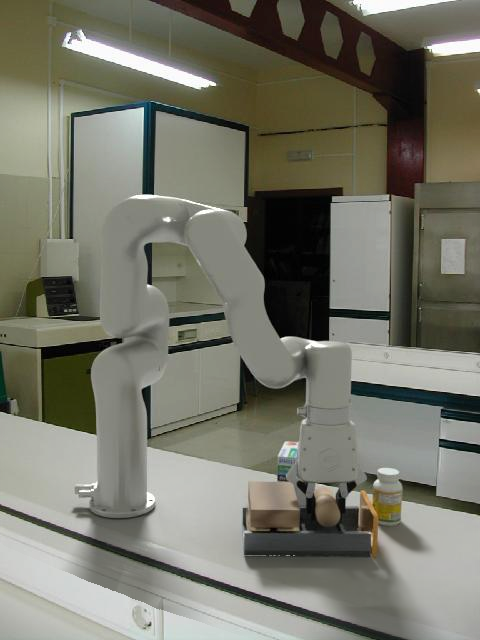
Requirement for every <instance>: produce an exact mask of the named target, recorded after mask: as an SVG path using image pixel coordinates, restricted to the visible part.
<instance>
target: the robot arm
mask: <svg viewBox="0 0 480 640" xmlns="http://www.w3.org/2000/svg"><path fill="white" fill-rule="evenodd" d="M247 234H248V233H247V228H246V224H245V223H244V221H243V219H242V218H241V217H240V216H238V215H237V214H236V213H234V212H233V211H230V210H226V209H221V208H217V207H212V206H210V205H206V204H201V203H198V202H195V201H194V202H193V201H190V200H187V199H182V198H177V197H171V196H162V195H156V194H155V195H153V194H139V195H133V196H130V197H128V198H125V199H123V200H121V201H119V202H118V203H116V204H115V205H114V206H112V208H111V209H110V210H109V211H108V212H107V214H106V215H105V217H104V220H103V223H102V226H101V231H100V252H101V255H100V256H101V270H100V293H99V295H100V296H99V297H100V298H99V318H100V319H99V321H100V325H101V327H102V330H103V331H104V332H105V333H106V334H107V335H108V336H110V337H112V338H117V339H124V342H122V343H121V342H120V343H118V344H114V345H111V346H109V347H107V348H105V349H103V350H102V351H101V352H100V353H99V354H98V355H97V356H96V357H95V358H94V360H93V362H92V366H91V368H90V380H91V385H92V391H93V395H94V402H95V404H94V405H95V414H96V415H95V416H96V418H95V419H96V421H95V422H96V424H95V425H96V475H97V476H96V478H97V480H96V482H92V483H91V484H85V483H75V486H74V495H78V498H79V499H80V498H81V499H82V498H84V499H85V498H90V500H89V503H88V504H89V505H88V508H89V510H90V512H92V513H93V514H94V515H97V516H100V517H102V518H108V519H109V518H110V519H128V518H135V517H138V516H139V517H140V516H141V515H145V514H147V513H149V512H150V511H152V510H153V509H154V508H155V507H156V497H155V496H154V495H153V494H152V493H150V492H148V416H147V413H148V412H147V408H146V404H145V401H144V398H143V393H142V390H143V389H144V388H146V387H147V388H148V386H151V385H153V384H155V383H156V382H158V381H159V380H160V379H161V378H162V377H163V375H164V374H165V372H166V369H167V366H168V359H169V339H170V338H169V337H170V336H169V335H170V329H169V328H170V307H169V305H168V301H167V298H166V296H165V295H164V293H163V292H162V291H161V290H160V289H159V288H158V287H156V286H154V285H150V284H148V272H149V271H148V270H149V267H148V266H149V265H148V259H147V256H146V252H145V246H146V244H149V243H150V244H151V243H174V244H178V245H182V246H186V247H188V249H189V251H190V253H191V254H192V256H193V258H195V261H196V262H197V264H198V266H199V267H200V269H201V271H202V272H203V274H204V275H205V277H206V278H207V280H208V282H209V283H210V285H211V286H212V288H213V290H214V292H215V294H216V295H217V297H218V298H219V301H220V302H221V303H222V308H223V313H224V318H225V321H226V325H227V330H228V332H229V334H230V337H231V339H232V342H233V345H234V347H235V348H236V350H237V352H238V353H239V356H240V357H241V359H242V360H243V362H244V363H245V365H246V367H247V368H248V369H249V371H250V373H251V374H252V375H253V377H254V379H256V380H257V381H258V382H259V383H260V384H261V385H264V386H265V387H267V388H271V389H282V388H285V387H287V386H289V385H290V384H292V383H294V381H298V380H301V379H304V378H305V379H306V381H305V385H306V386H305V404H304V405H303V406H301V407H297V409H296V412H297V413H296V415H297V416H302V417H304V419H302V421H301V423H300V428H299V435H298V441H297V443H298V449H297V460H296V461H295V463H294V464H293V466H292V467H291V468H290V470H289V471H288V473H287V474H286V479H287V480H288V481H289V482H291V483H292V484H294V485H296V486H297V487H298V488H299V489H300V490H301V491H302V492H303V493H304V494H305V495H306V514H309V515H310V518H311V520H314V519H315V507H316V498H315V495H314V487H315V488H316V483H317V484H318V483H319V484H320V483H321V484H322V483H323V484H328V483H329V484H332V483H333V484H337V486H338V487H337V491H336V493H335V500H336V503H337V506H338V508H339V511H340V520H342V514H345V508H346V506H347V505H346V503H347V502H346V501H347V499H346V498H348V496H349V494H350V493H351V492H352V491H354V489H356V488H357V486H359V485H361V484H363V483H364V482H366V481H367V479H368V477H367V475H366V473H365V472H364V470H363V468H362V467H361V465H360V464H359V458H358V457H359V455H358V453H359V452H358V450H359V449H358V438H357V437H358V436H357V430H356V424H355V422H353V421H352V420H351V395H352V394H351V391H352V365H353V364H352V362H353V361H352V360H353V359H352V358H353V356H352V355H353V353H352V352H353V351H352V349H351V347H350V345H349V344H347V343H345V342H343V341H342V342H341V341H335V340H333V341H332V340H322V341H321V340H319V341H318V340H317V341H316V340H311V339H308V338H307V339H306V338H302V337H298V336H284V337H281V338H280V335H278V333H277V331H276V329H275V327H274V326H273V325H272V323H271V320H270V319H269V316H268V314H267V310H266V306H265V301H264V298H265V297H264V295H265V294H264V293H265V288H266V286H265V285H266V284H265V278H264V275H263V274H262V272H261V271H260V269H259V268H258V266H257V264H256V262H255V261H254V259H253V258H252V256H251V255H250V253H249V252H248V250H247V248H246V247H245V244H246V241H247V236H248V235H247ZM297 474H298V476H299V478H298V477H297V476H296V475H297Z"/></svg>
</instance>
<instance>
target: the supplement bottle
mask: <svg viewBox="0 0 480 640" xmlns="http://www.w3.org/2000/svg"><path fill="white" fill-rule="evenodd" d="M376 474H377V475H376V477H377V479H376V480H375V481H374V482H373V485H372V505H373V507H374V509H375V511H376V513H377V515H378V525H380V526H384V527H395V526H398V525H400V523H401V521H402V508H403V507H402V504H403V502H402V501H403V485H402V483H401V482H400V481H399V479H400V471H399V470H398V469H395V468H390V467H382V468H378V469H377V472H376Z"/></svg>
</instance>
